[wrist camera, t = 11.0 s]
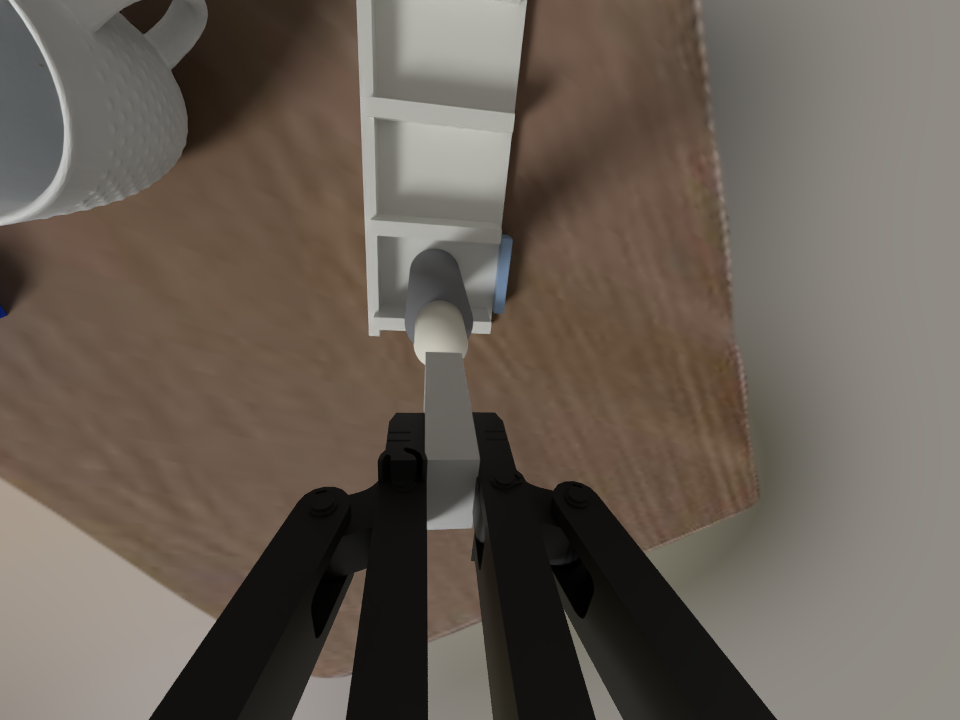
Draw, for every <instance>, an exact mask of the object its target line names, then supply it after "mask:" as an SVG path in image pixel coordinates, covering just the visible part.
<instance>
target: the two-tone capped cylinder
mask: <svg viewBox="0 0 960 720" xmlns="http://www.w3.org/2000/svg"><path fill="white" fill-rule="evenodd" d="M405 329H406V332H407V335H408V337H409V338H410V340H411V341H412V342H413V343H414V350H415V353H416V355H417V357H418V359H419V360H420V361H421V362H422V363H423V364H425V357H426V352H451V353H462V357H463V358H464V357H465V355H466V353H467V350H468V338H469V336H470V334H471V332H472V329H473V315H472V311H471V308H470V304H469V301H468V297H467V294H466V290H465V287H464V283H463V280H462V276H461V272H460V269H459V265H458V263H457V261H456V260H455V258H454V257H453V256H452V255H451V254H449V253H448V252H446V251H444V250H441V249H428V250H425V251H422V252H421V253H419V254H418V255H417V256H416V257H415V258H414V260H413V261H412V263H411V266H410V272H409V282H408V292H407V301H406V311H405Z"/></svg>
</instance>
